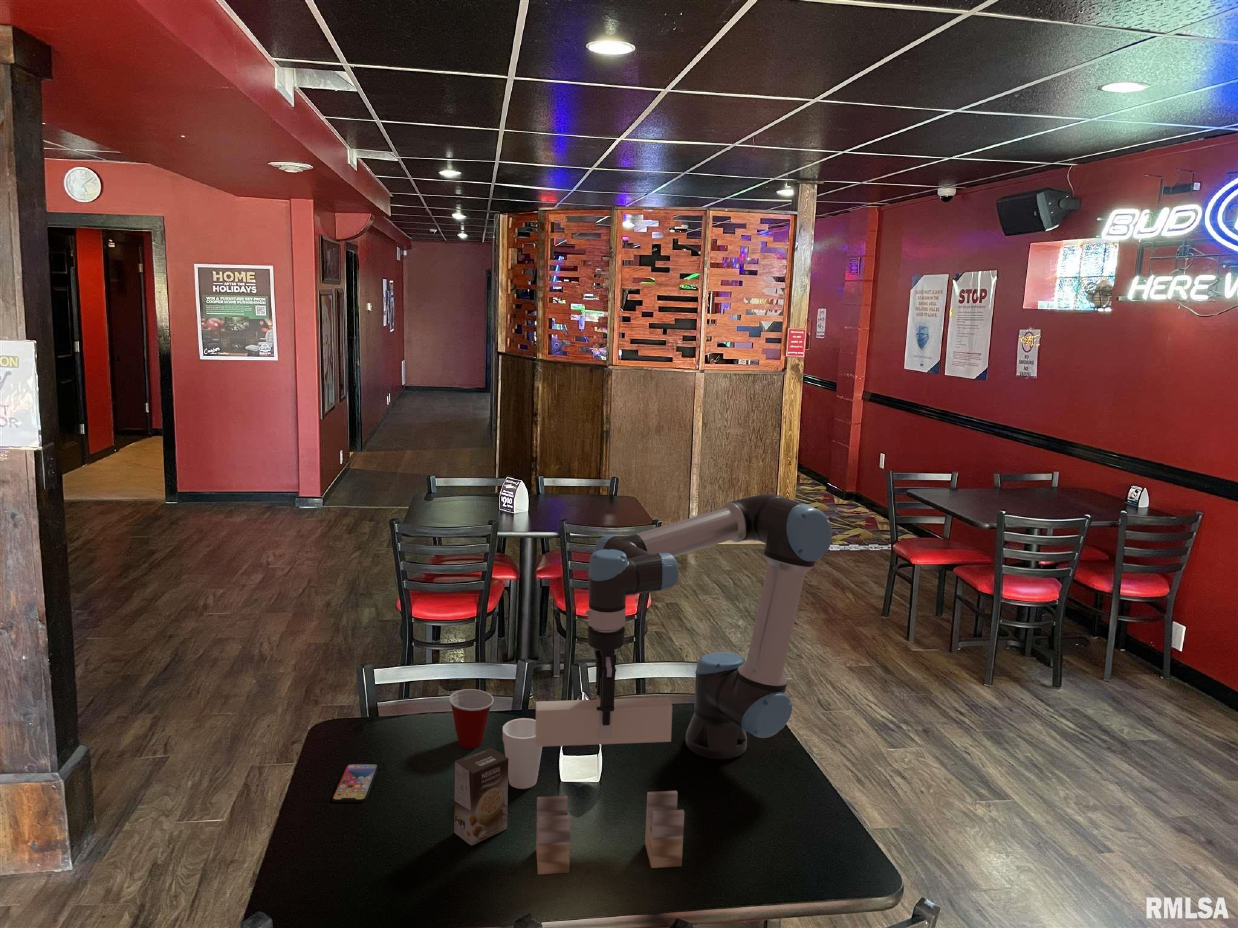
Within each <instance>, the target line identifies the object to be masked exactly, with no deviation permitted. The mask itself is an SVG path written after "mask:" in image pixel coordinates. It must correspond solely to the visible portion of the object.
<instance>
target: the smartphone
mask: <svg viewBox="0 0 1238 928" xmlns="http://www.w3.org/2000/svg"><path fill="white" fill-rule="evenodd" d="M378 770H379V764H377V763H349V764H347V765H345V768H344V770H343V772H342V774H341V777H340V779H339V781H338V783H337V785H336V788H335V790H334V792H333V794H332V795H331V796H332V797H331V801H332V802H333V803H335V804H338V803H339V804H340V803H343V804H345V803H346V804H347V803H351V804H353V803H357V804H358V803H364V802H367V799H368V797H369V794H370V791H371V788H372V785H373V784H374V780H375V778H376V775H377V774H378Z"/></svg>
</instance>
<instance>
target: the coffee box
mask: <svg viewBox="0 0 1238 928" xmlns="http://www.w3.org/2000/svg"><path fill="white" fill-rule="evenodd" d="M508 759H509V758H507V757H506V756H505V754H503V753H502V752H499V751H498V750H495V749H493V748H492V747H488V748H486V749H483V750H480V751H477V752H475V753H473V754H470V755H468V756H464V757H462V758H460V759H456V760H454V822H453V823H454V827H453V829H454V830H453V832H454V834H455V835H457V836H458V837H459V838H461V839H462V840H463V841H464V842H466V843H467V844H468V845H470V846H474V845H476V844H478V843H481V842H482V841H485V840H487V839H488V838H489V839H490V837H493V836H495V835H497V834H499V833H502V832H503V831H505V830H507V829H508V802H509V800H508V799H509V798H508V797H509V796H508V792H509V791H508V790H509V779H508Z"/></svg>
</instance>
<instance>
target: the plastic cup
mask: <svg viewBox="0 0 1238 928" xmlns="http://www.w3.org/2000/svg"><path fill="white" fill-rule="evenodd" d="M448 700H449V704H450V706H451V711H452V715H453V716H452V717H453V721H454V727H455V731H456V737H457V742H458V744H459V745H458V746H460V747H461V748H463V749H469V750H470V749H476V748H479V747H481V745H482V744H483V741H484V736H485V731H486V729H487V723H488V719H489V712H490V710H491V707H492V706H493V704H494V701H495V699H494V696H493V695H492V694H490V693H489V692H487V691H484V690H481V689H474V688H469V689H468V688H467V689H465V688H464V689H460V690H456V691H454V692H452V693H451V694H450V695H449V697H448Z"/></svg>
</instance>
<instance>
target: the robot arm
mask: <svg viewBox="0 0 1238 928" xmlns="http://www.w3.org/2000/svg"><path fill="white" fill-rule="evenodd" d="M832 538H833V528H832V525H831V522H830V520H829V519H828V517H827V515H826V514H825V513H824V512H823V511H822V510H820V509H818V508H815V507H813V506H811V505H810V504H806V503H804V502H801V501H797V500H795V499H794V500H793V499H790V498H786V497H784V496H781V495H778V494H769V493H768V494H767V493H766V494H765V493H764V494H759V495H752V496H747V497H744V498H743V497H742V498H739V499H735V500H732V501H729V502H726V503H724V504H723V505H722V507H721V508H720V509H717V510H713V511H709V512H707V513H703V514H700V515H696V516H693V517H690V518H686V519H683V520H679V521H675V522H671V523H669V524H665V525H662V526H658V527H655V528H651V529H647V530H645V531H641V532H637V533H635V534H631V535H627V536H624V537H621V536H618V535H614V534H607V535H604V536H602V537H601V538H599V539H598V541H597V542H596V544H595V546H594V550H593V553H592V554H591V555H590V558H589V565H588V573H587V576H588V610H586V611H585V612H584V615H585V616H587V617H588V618H587V620H588V621H587V622H588V627H587V644H588V646H590V647H591V648H593V649H595V651H594V655H595V685H594V686H595V689H596V692H595V694H596V700H600V707H597V711H599V730H598V737H599V738H612V711H614V699H615V687H616V686H615V685H616V672H617V668H616V664H617V654H615V653H616V652H615V650H617V649H618V650H619V649H621V647H623V646H624V645H625V635H626V631H625V630H626V629H625V625H626V608H627V607H626V604H627V603H626V601H627V597H628V596H635V595H639V594H645V593H651V592H658V591H659V592H662V591H663V590H666V589H667V590H668V589H671V588H673V587H675V586H676V584H677V583H678V581H679V577H680V575H679V573H680V568H679V564H678V562H677V559H676V558H677V557H679V556H682V555H686V554H689V553H691V552H692V553H693V552H696V551H699V550H702V549H705V548H709V547H712V546H715V545H719V544H722V543H725V542H728V541H732V542H734V543H741V542H744V541H757V542H762V543H764V544H765V547H764V550H763V557H764V559H765V560H766V562H767V568H766V573H765V576H764V582H763V586H762V591H761V593H760V598H759V604H758V606H757V607H758V608H757V612H756V616H755V621H754V626H753V630H752V634H751V639H750V642H749V643H750V644H749V647H748V652H747V655H746V661H745V658H744V657H743V656H742V655H740V654H737V653H733V652H725V651H724V652H720V651H719V652H711V653H707V654H706V653H705V654H704V655H702V656H700V657H699V659H698V660H697V663H696V670H695V687H694V688H695V692H694V709H693V713H692V714H693V715H692V717H691V718H690V722H689V724H688V727H687V729H686V732H685V745H686V747H687V748H688V749H689V750H690V751H691V752H693V753H694V754H695V755H697V756H700V757H703V758H706V759H711V760H731V759H734V758H738V757H739V756H742V755H744V753H745V752H746V750H747V748H748V735H747V733H749V734H751V735H753V736H754V737H756V738H762V739H765V738H766V739H767V738H770V737H773V736H775V735H776V734H778V733H779V731H781V730H783V728H784V727H785V726H786V725H787V723H788V722H789V720H790V718H791V716H792V712H793V704H792V703H793V702H792V701H791V698H790V697H789V695H787V693H786V689H787V686H788V679H787V677H786V676H785V674H784V667H785V663H786V659H787V655H788V650H789V646H790V642H791V638H792V633H793V628H794V624H795V621H796V620H795V619H796V615H797V611H798V607H799V602H800V598H801V595H802V589H803V585H804V581H805V576H806V574H807V572H808V571H810V570H812V569H814V567H815V563H816V561H819V560H820V559H822V558H823V557H825V554H826V553H827V552H828V551H829V550H830V546H831V544H832V540H833V539H832Z"/></svg>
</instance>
